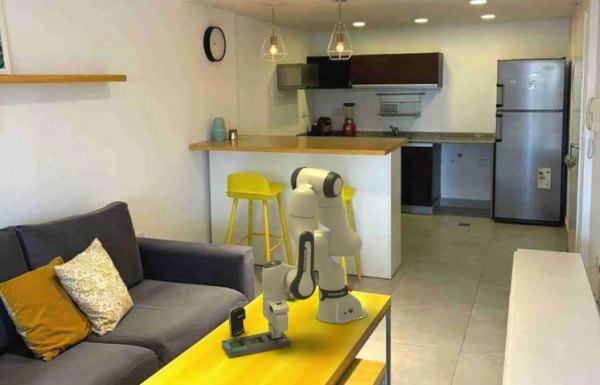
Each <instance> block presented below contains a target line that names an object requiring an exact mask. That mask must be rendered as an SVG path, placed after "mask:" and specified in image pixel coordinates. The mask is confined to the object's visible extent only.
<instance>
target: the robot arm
mask: <svg viewBox="0 0 600 385" xmlns="http://www.w3.org/2000/svg"><path fill="white" fill-rule="evenodd" d="M290 186H291V189H292V192H291V196H290V199H289V204H288V209H287V218H286V224H287V225H286V227H287V232H288V233H289V235H290V236H291V238H292V240H293V241H294V243H295V247H296V250H297V256H296V257H297V258H296V259H297V260H296V265H291V264H287V263H285V262H283V261H282V260H277V259H276V260H275V259H273V260H270V261H268V262H266V263H265V264H264V266H263V267H262V276H261V277H262V278H261V282H262V283H261V286H262V289H263V291H262V311H261V312H262V315H263V317H264V318H265V319H266V320H267V322H268V323H271V324H272V326H273V327H274V328H275V330H276V331H275V337H276V338H278V337H280V333H282V332H283V333H286V332H288V329H289V313H288V312H290V307H289V304H288V302H287V300H286V298H285V292H286V291H290V292H291V293H292V295H293V296H294V297H295V298H294V299H297V300H299V301H304V300H307V299H310V298H312V296H313V295H314V293H315V291H316V290H317V282H316V279H315V274H314V267H315V264H316V266H317V269H318V276H319V277H318V278H319V285H318V292H317V293H318V306H317V307H318V308H317V312H316V316H315V317H316V319H317V320H319V321H321V322H323V323H328V324H329V323H332V324H338V325H345V324H348V323H350V322H349V321H351V322H353V321H352V320H354V321H356V320H355V319H357V318H360V317H364V316H367V317H368V313H367V310H366V309H364V307H362V306H363V305H362V303H361V301H360V300H359V298H357V297H356V296H354V295H353V294H351V293H352V292H353V290H354V288H353V287H351V286H348V285H347V284H346V282H345V281H346V277H345V276H346V270H345V269H344V267H343V266H342V264H340V263H339V262H336V261H335V260H334V259H333V257H341V258H342V257H343V258H344V257H345V258H348V257H355V256H358V255H359V253H360V252H361V251H362V246H363V242H362V238H361V237H360V235H359V234H358V233H356V231H354V230H353V229H352V228H351V227H350V226H349V225H348V223H347V222H346V219H345V216H344V215H345V214H344V207H343V206H344V204H343V195H342V194H343V193H342V191H343V187H344V180H343V177H342V176H341V174H339V173H338V172H336V171H329V170H326V169H323V168H313V167H307V166H301V167H297V168H296V169H294V170H293V172H292V174H291V176H290ZM316 217H317V221H318V223H319V224H320V225H322V226H323V227H324V228H327V229H328V230H327V229H315V228H316V227H315V226H316V225H315V224H316ZM314 262H315V264H314ZM364 318H365V317H364ZM347 322H348V323H347Z"/></svg>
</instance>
